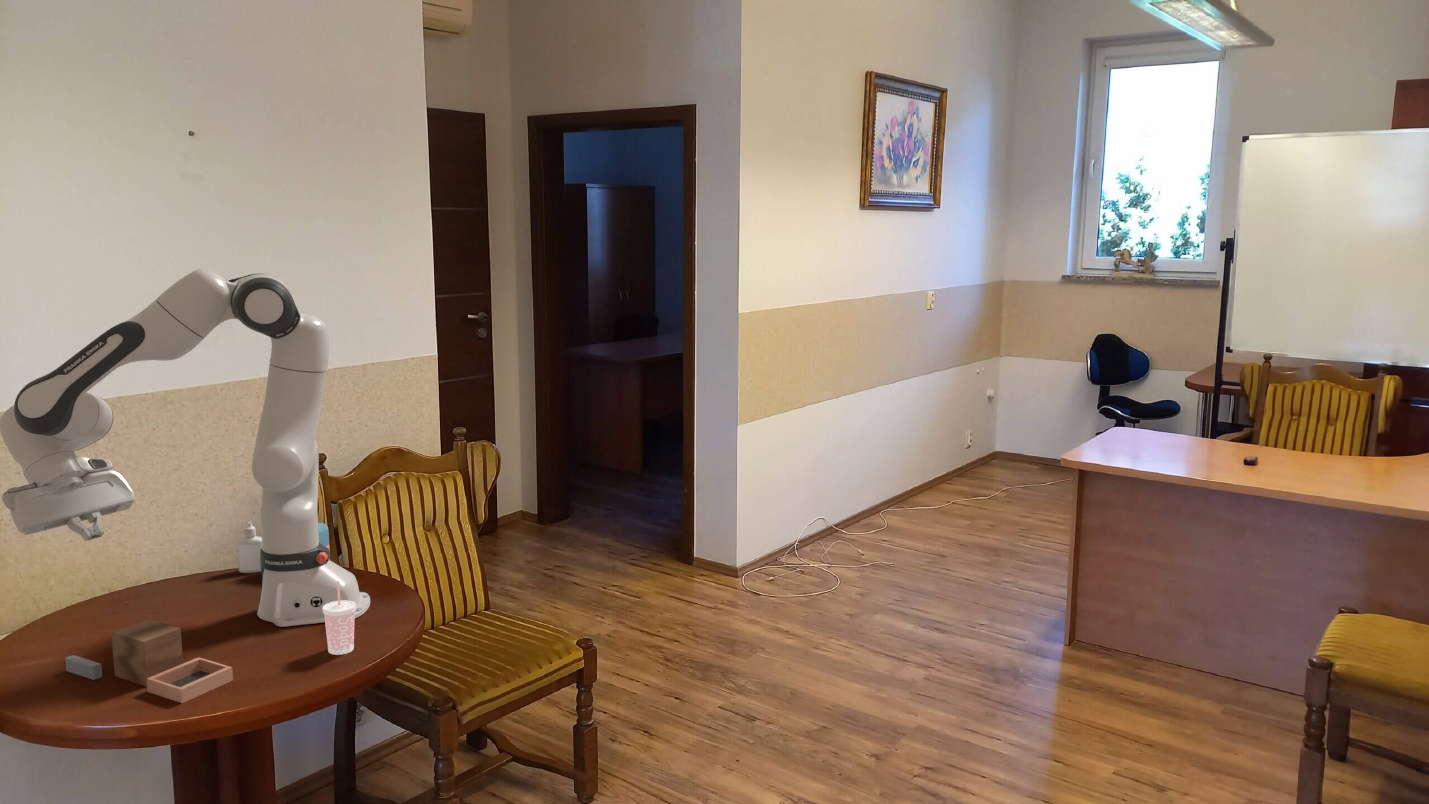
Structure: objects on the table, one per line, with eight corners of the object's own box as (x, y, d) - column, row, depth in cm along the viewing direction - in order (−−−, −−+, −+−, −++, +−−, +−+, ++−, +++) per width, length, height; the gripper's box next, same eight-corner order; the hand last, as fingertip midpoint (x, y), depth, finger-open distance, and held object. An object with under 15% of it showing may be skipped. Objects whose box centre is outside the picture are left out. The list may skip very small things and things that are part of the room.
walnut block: (114, 676, 175) (111, 632, 174) (151, 661, 182) (148, 618, 180) (147, 687, 172) (143, 641, 170) (183, 672, 178) (180, 628, 176)
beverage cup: (324, 658, 185) (321, 588, 182) (323, 646, 190) (320, 577, 188) (358, 653, 187) (356, 584, 185) (356, 641, 193) (354, 574, 190)
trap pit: (147, 691, 170) (146, 678, 169) (199, 670, 178) (198, 657, 178) (182, 703, 166) (181, 689, 165) (233, 680, 175) (232, 667, 174)
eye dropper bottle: (257, 574, 229) (254, 525, 227) (235, 572, 230) (232, 524, 228) (268, 568, 233) (265, 520, 231) (247, 566, 234) (244, 518, 232)
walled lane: (66, 670, 177) (65, 657, 176) (134, 645, 188) (134, 632, 188) (94, 680, 173) (92, 667, 173) (162, 653, 185) (161, 641, 185)
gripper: (3, 480, 171) (41, 543, 169) (118, 457, 189) (153, 513, 187) (-9, 501, 174) (28, 563, 171) (105, 476, 192) (140, 532, 189)
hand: (95, 537), depth 179 cm, fingers closed
